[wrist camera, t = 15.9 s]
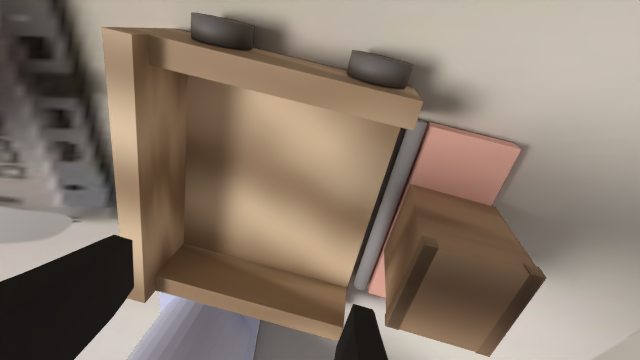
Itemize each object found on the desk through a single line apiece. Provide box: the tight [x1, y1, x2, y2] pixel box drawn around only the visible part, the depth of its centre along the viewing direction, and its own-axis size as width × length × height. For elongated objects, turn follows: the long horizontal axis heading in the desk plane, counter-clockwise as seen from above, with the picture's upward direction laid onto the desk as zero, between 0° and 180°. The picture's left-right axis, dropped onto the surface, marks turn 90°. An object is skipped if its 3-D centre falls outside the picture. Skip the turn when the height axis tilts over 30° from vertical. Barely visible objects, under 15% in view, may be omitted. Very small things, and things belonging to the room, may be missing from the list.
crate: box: [384, 184, 546, 357], centre depth 15 cm, size 5×5×6 cm
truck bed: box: [102, 13, 424, 341], centre depth 17 cm, size 16×13×5 cm
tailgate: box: [353, 119, 521, 298], centre depth 18 cm, size 11×1×6 cm
